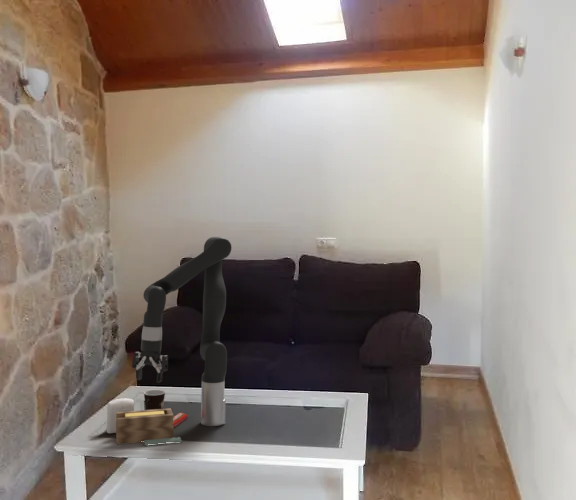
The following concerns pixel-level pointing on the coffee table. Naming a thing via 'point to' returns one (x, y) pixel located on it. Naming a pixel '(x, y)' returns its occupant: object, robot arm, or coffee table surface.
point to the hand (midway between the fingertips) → (148, 381)
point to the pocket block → (143, 426)
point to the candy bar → (179, 419)
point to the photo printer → (117, 406)
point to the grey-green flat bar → (162, 440)
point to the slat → (144, 414)
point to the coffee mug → (154, 399)
